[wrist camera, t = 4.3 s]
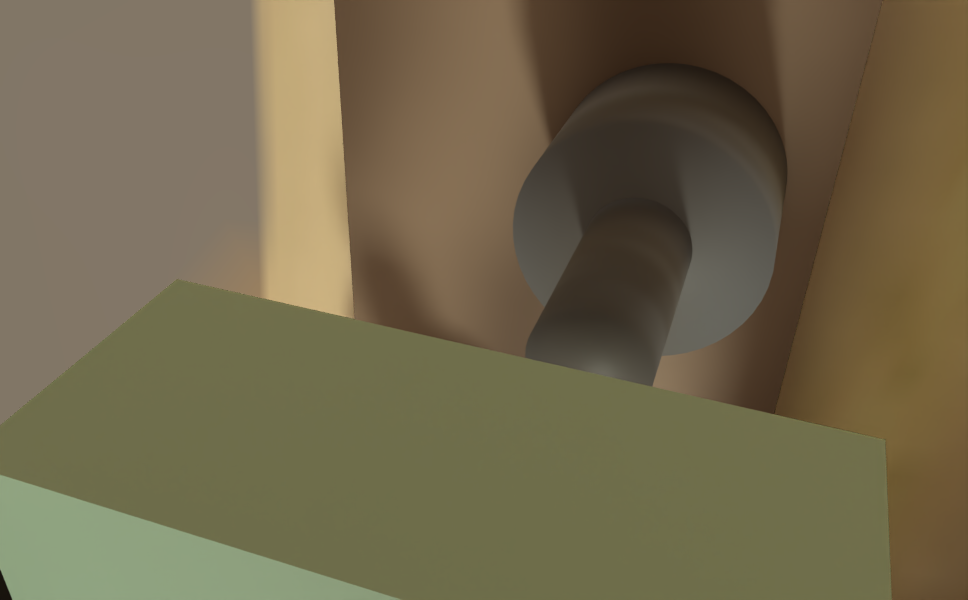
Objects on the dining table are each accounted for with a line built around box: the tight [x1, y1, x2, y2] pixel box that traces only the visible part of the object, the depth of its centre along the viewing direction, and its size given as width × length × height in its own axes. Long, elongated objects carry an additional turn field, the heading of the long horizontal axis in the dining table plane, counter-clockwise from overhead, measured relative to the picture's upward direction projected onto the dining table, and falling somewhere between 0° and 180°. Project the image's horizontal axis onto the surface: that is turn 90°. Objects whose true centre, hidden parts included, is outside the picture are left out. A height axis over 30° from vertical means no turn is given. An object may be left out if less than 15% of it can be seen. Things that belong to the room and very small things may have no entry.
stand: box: [334, 0, 883, 414], centre depth 19 cm, size 10×18×8 cm, turn 179°
